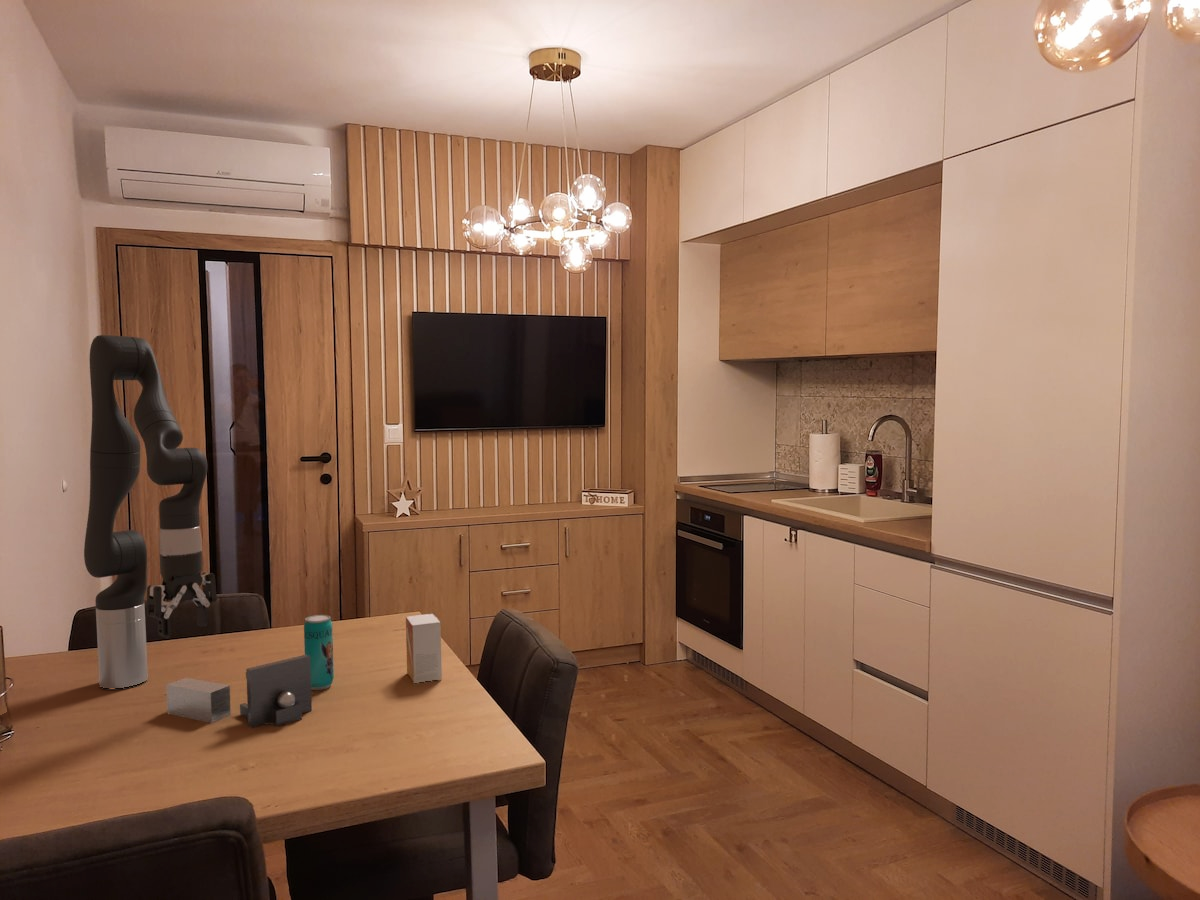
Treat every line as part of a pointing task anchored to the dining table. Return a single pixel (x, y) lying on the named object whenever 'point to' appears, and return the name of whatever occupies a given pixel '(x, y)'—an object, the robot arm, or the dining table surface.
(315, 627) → the beverage can
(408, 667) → the small box
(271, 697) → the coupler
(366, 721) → the dining table surface
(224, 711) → the grey rectangular block
